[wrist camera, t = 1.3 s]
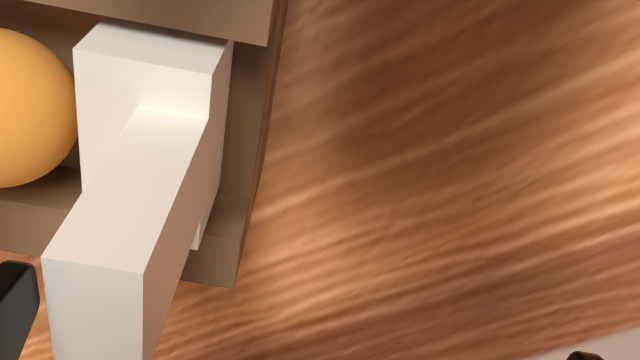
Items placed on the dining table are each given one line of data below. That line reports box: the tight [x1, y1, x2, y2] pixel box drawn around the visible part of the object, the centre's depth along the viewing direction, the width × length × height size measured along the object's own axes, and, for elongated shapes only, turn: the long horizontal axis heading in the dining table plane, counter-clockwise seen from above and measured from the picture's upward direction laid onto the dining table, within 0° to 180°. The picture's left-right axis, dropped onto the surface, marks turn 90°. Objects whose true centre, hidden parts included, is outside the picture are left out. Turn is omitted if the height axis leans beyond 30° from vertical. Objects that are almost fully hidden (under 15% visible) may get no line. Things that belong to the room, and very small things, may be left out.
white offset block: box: [41, 16, 234, 360], centre depth 13 cm, size 3×5×8 cm, turn 170°
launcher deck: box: [0, 0, 288, 289], centre depth 18 cm, size 16×10×7 cm, turn 80°
